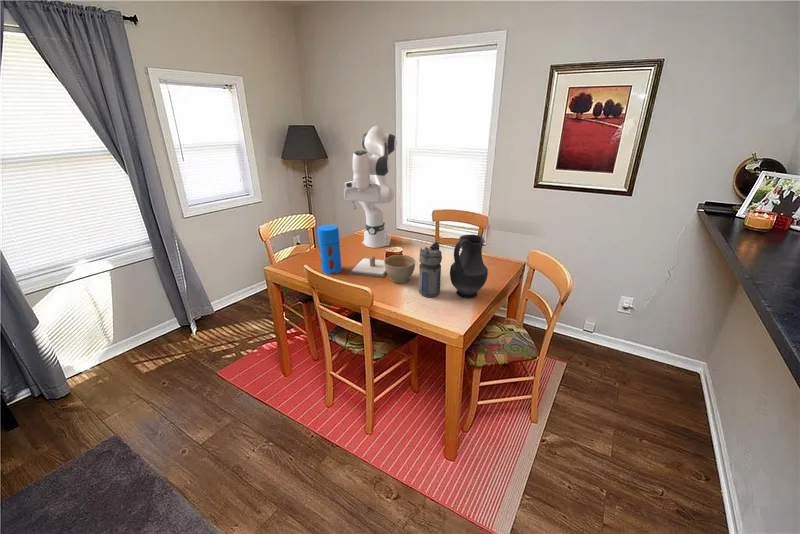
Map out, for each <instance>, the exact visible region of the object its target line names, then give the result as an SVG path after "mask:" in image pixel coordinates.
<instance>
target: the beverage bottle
mask: <svg viewBox="0 0 800 534" xmlns="http://www.w3.org/2000/svg"><path fill="white" fill-rule="evenodd" d="M442 261H443V256H442V251H441V250H440V244H439V243H438V242H437V241H435V242H434V243H432V244H431V245H430V246H428V247H426V246H425V247H424V249H423V248H422V247H421V248H420V250H419V263H420V264H419V267H418V269H419V270H418V271H419V275H418V282H419V283H418V291H419V293H420V295H421V296H423V297H427V298H433V297H434V298H435V297H436V296H438V295H439V294H440V292H441V277H442V276H441V275H442V264H441V263H442Z"/></svg>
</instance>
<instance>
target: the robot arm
mask: <svg viewBox="0 0 800 534" xmlns="http://www.w3.org/2000/svg"><path fill="white" fill-rule="evenodd" d="M397 145H398V141H397V137H396V135H394V134H392V133H389V134H388V133H385V131H384V129H383V127H381V126H379V125H374V126H372V127H371V128H370V129H369V130H368V131H367V132H365V133H364V134H363V135H362V137H361V146H362V148H363V150H356V151H354V152H353V153H352V154H353V155H352V171H353V176H352V179H353V180H350V181H347V182H345V183H344V190H343V199H344V200H345V201H347V202H348V201H349V202H350V204H351V206H352V209H353V210H357V209H358V208H357V207H358V206H357V204H355V202H358V203H359V204H360V206H361V207H362V208H363V211H364V214H365V223H366V224H365V231H364V232H363V241H361V243H362V245H364V246H365V247H367V248H374V249H375V248H376V249H377V248H382V247H387V246H388V247H389V246H390V243H391V240H392V237H391V236H389V235H388V230H387V229H385V225H386V222H385V221H384V213H383V211H382V210H381V209H380V208H378V207H377V206H376V205H375V204H381V205H382V204H390V203H391V202H392V201H393V200H394V197H395V193H394V190H393V188H392V187H391V186H390V185H389V184H388V183H387V180H386V175H387V174H388V173H389V171H390V162H389V156H390V155H391V154H392V153H393V152H394V151H395V150H396V149H397ZM369 154H372V155H371V156H369ZM371 182H372V183H371Z"/></svg>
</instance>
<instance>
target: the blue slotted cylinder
mask: <svg viewBox="0 0 800 534" xmlns="http://www.w3.org/2000/svg"><path fill="white" fill-rule="evenodd" d="M317 237H318V238H317V239H318V246H319V247H318V248H319V255H320V265H321V271H323V272H324V273H323V272H322V273H323V274H325V273H326V274H325V275H335V273H336V274H339V273H340V272H342V257H341V256H342V255H341V247H340V246H341V245H340V234H339V226H338V225H336V224H323V225H321V226H318V227H317ZM338 272H339V273H338Z"/></svg>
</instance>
